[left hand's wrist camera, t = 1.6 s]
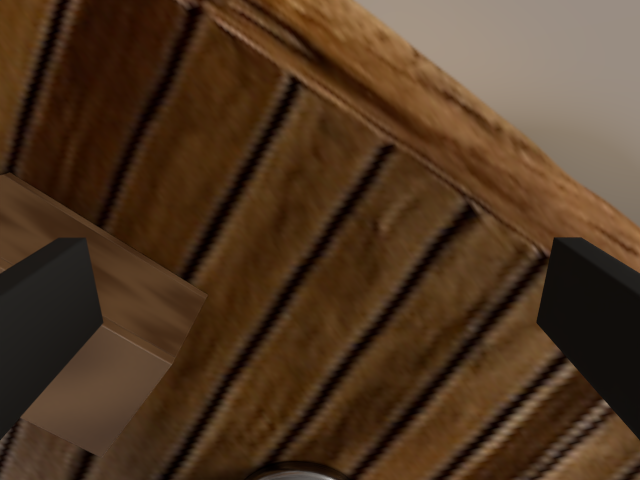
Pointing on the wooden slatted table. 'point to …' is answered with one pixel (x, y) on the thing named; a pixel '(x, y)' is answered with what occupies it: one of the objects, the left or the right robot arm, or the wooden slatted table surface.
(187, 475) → the wooden slatted table surface
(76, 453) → the wooden slatted table surface
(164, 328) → the cabinet
